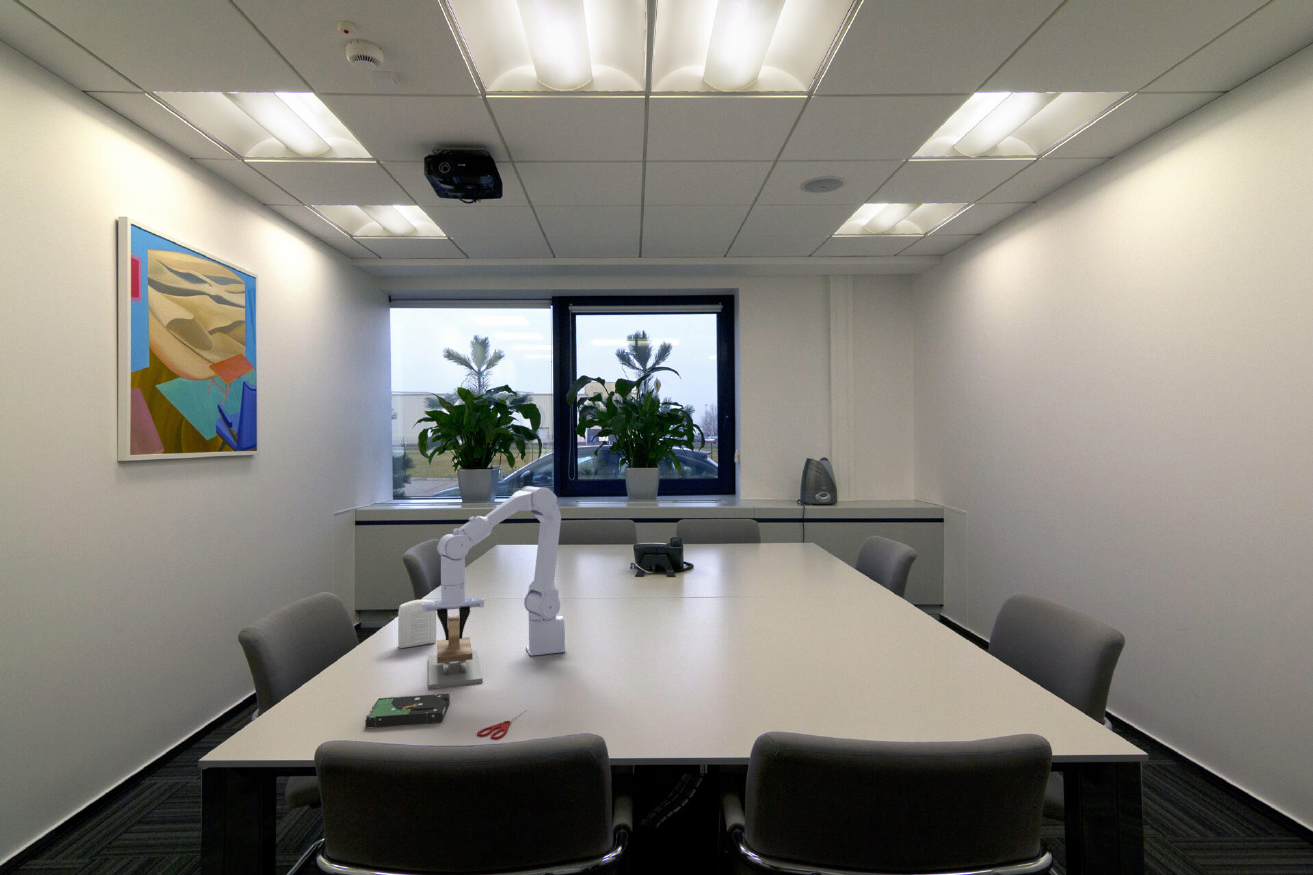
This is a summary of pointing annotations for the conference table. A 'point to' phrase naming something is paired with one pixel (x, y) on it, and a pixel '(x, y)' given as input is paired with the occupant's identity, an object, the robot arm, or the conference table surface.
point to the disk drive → (408, 710)
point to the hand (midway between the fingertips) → (453, 638)
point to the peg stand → (454, 672)
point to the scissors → (501, 726)
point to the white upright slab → (415, 624)
